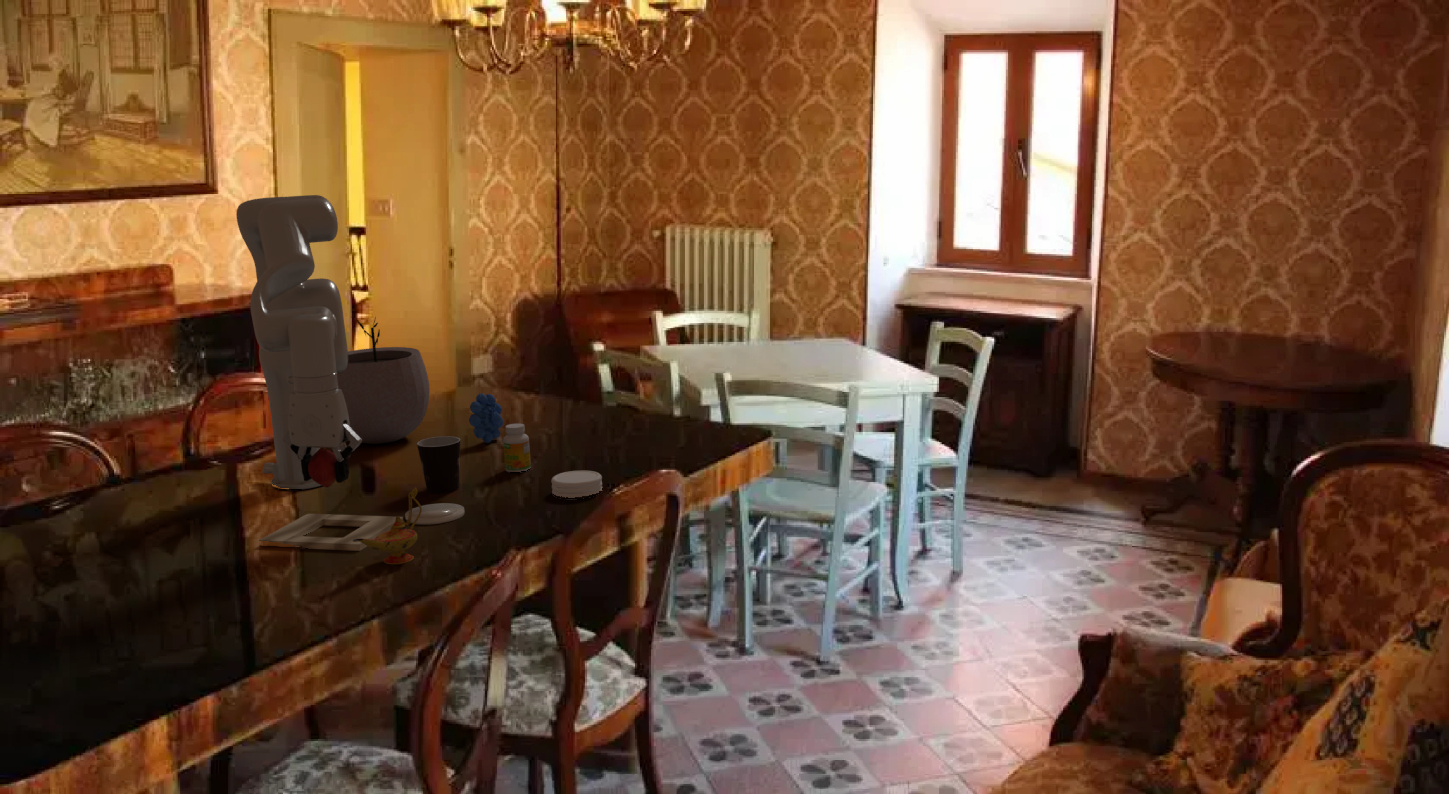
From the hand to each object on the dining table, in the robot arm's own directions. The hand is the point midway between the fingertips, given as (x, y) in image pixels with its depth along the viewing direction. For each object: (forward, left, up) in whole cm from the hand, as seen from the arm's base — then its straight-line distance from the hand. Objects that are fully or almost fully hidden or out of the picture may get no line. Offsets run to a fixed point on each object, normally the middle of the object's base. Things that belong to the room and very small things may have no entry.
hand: (326, 478), depth 239 cm
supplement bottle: (+18, +45, -11) cm, 50 cm away
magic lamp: (+20, -14, -11) cm, 26 cm away
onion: (0, 0, -2) cm, 2 cm away
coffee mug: (+8, +31, -11) cm, 34 cm away
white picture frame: (+1, -1, -10) cm, 10 cm away
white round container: (+37, +30, -11) cm, 49 cm away
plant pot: (-26, +67, -11) cm, 73 cm away
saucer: (+15, +12, -10) cm, 22 cm away
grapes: (+2, +67, -11) cm, 68 cm away
